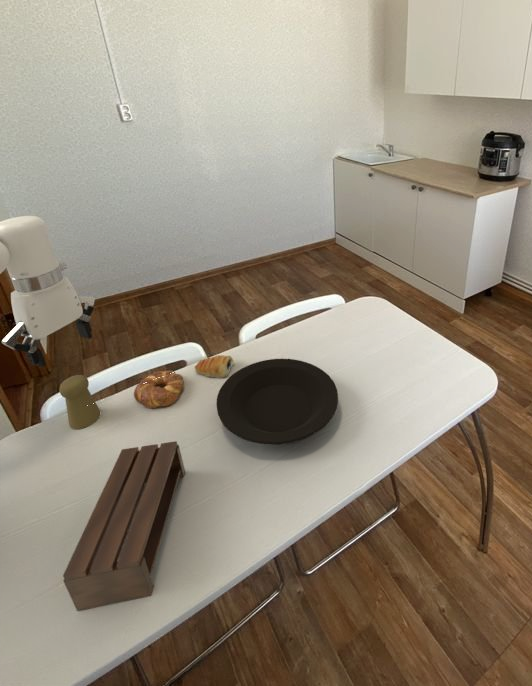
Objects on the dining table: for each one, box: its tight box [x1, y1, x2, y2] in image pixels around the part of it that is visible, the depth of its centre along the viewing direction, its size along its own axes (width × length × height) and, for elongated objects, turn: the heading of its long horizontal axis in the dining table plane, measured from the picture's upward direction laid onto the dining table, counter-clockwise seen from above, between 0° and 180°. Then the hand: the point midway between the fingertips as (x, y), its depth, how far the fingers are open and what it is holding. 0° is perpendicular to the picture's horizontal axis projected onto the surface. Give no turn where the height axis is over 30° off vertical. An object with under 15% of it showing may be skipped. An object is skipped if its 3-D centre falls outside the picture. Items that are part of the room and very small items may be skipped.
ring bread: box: [133, 370, 184, 409], centre depth 94 cm, size 12×11×4 cm
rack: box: [62, 440, 186, 612], centre depth 63 cm, size 10×20×8 cm, turn 10°
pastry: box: [194, 354, 234, 379], centre depth 101 cm, size 9×7×4 cm
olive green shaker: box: [58, 374, 101, 430], centre depth 86 cm, size 6×6×11 cm
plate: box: [216, 358, 339, 446], centre depth 87 cm, size 28×24×6 cm
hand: (64, 350), depth 81 cm, fingers open, 9 cm apart
